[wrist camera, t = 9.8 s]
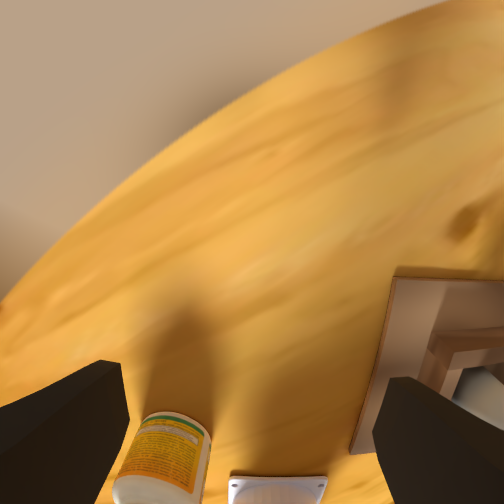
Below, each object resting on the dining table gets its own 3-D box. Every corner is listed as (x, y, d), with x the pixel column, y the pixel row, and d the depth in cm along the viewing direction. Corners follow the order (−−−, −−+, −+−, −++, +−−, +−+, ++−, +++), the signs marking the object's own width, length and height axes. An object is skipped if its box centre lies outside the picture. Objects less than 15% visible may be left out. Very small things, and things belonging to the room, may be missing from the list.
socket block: (483, 425, 21) (501, 447, 17) (348, 449, 21) (358, 482, 17) (535, 281, 18) (564, 295, 14) (393, 276, 18) (420, 296, 14)
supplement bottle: (222, 453, 21) (210, 559, 11) (160, 460, 21) (131, 554, 12) (194, 402, 20) (164, 518, 10) (128, 412, 20) (79, 511, 11)
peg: (467, 388, 19) (533, 463, 10) (435, 394, 19) (498, 481, 10) (479, 351, 18) (557, 422, 9) (447, 357, 18) (524, 439, 9)
